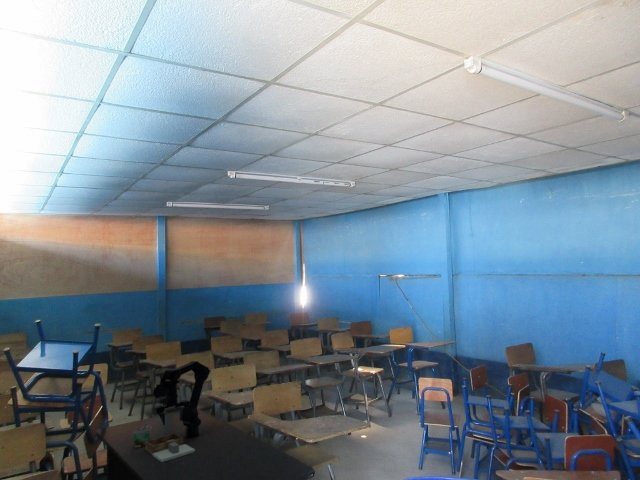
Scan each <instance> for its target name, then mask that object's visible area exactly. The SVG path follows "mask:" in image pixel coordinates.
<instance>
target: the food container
mask: <svg viewBox="0 0 640 480" xmlns="http://www.w3.org/2000/svg"><path fill="white" fill-rule="evenodd" d="M152 429H153V427H152V425H151V423H149V422H148V423H147V422H146V423H145V425H144V426H140V427H139V428H138V429H133V431H132V435H133V441H134V448H135V449H136V448H137V449H138V448H143V447H144V448H145V441H148V440H151V433H152V431H151V430H152Z"/></svg>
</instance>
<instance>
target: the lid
mask: <svg viewBox="0 0 640 480" xmlns="http://www.w3.org/2000/svg"><path fill="white" fill-rule="evenodd" d="M168 448H169V449H166V450H163V451H159V452H156V453H153V455H152V457H153V458H154V459H156V460H158V461H159V462H161V463H163V462H167V461H170V460H173V459H177V458H180V457H183V456H186V455H190V454H194V453H196V452H195V451H196V449H195V448H193V447H191V446H189V445H188V444H185V443H183V445H180V446H179V445H178V444H177V443H175V442H173V443H169V444H168Z"/></svg>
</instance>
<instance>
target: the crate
mask: <svg viewBox="0 0 640 480" xmlns="http://www.w3.org/2000/svg"><path fill="white" fill-rule="evenodd" d="M168 440H172V441H168ZM167 441H168V442H167ZM173 442H175V443H177V444H178V445H179V446H180V445H183V444H184V437H183V436H180V435H179V434H178V433H171V434H168V435H167V434H166V435H163V436H159V437H155V438H153V439H150V440H148V441H145V446H144V449H145V451H146V452H147V453H149V454H150V455H151V456H153V453H156V452H159V451H163V450H166V449H169V448H168V444H169V443H173Z"/></svg>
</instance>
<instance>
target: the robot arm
mask: <svg viewBox="0 0 640 480" xmlns="http://www.w3.org/2000/svg"><path fill="white" fill-rule="evenodd" d="M191 371H192V373H194V374H193V378H194V384H193V389H192V392H191V396H190V399H189V400H187V399H183V400H179V402H178V397H179V395H178V384H180V383H181V381H179V379H180V378H181V377H182V376H183V375H184V374H186V373H187V374H188V373H189V372H191ZM209 375H210V368H209V367H208V366H206V365H204V364H202V363H200V362H199V361H197V360H196V361H194V360H191V361H189V362H188V363H185V364H184V365H181V366H179V367H175V368H169V369H166V370H164V373H163V375H162V377H161V380H160V382H159V383H157V384H155V387H154V388H153V391H152V393H153V396H154V398H155V399H158V404H159V405H157V406H156V405H155V406H154V407H153V408H152V412H153V414H155V415H158V416H159V419H160V421H161V423H162V426H165V425H166V416H165V415H166V413H165V411H166V410H171V409H174V408H175V409H176V408H179V422H182V424H183V426H184V427H185V429H184V433H185V435H184V437H186V438H188V439H193V438H197V437H199V436H200V432H199V430H200V429H199V428H200V427H199V426H201V425H202V424H201V423H202V420H201V418H200V417H199V411H198V405H199V401H200V399H201V393H202V391H203V387H204V383H205V382H206V380H207V379H208V378H209Z"/></svg>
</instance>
